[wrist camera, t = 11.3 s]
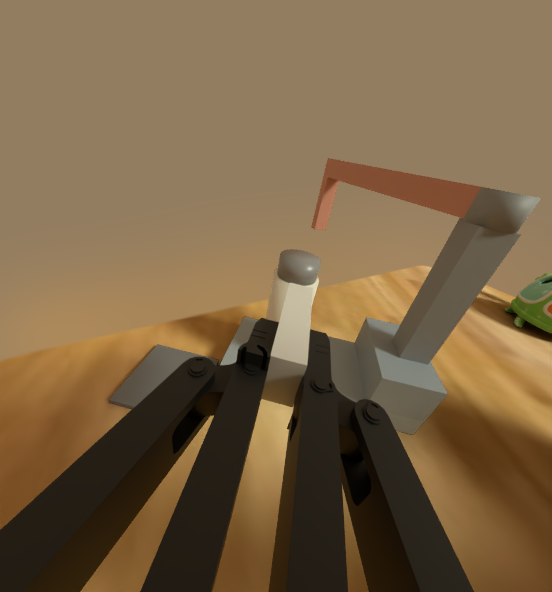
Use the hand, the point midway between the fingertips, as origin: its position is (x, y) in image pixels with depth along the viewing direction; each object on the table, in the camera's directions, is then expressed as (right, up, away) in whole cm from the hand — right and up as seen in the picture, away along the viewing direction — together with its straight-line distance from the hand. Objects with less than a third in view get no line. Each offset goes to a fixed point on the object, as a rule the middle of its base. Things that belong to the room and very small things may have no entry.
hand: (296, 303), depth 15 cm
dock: (+4, -10, +15) cm, 18 cm away
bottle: (-1, -8, +15) cm, 18 cm away
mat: (-13, -9, +11) cm, 19 cm away
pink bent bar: (+10, +5, +16) cm, 20 cm away
